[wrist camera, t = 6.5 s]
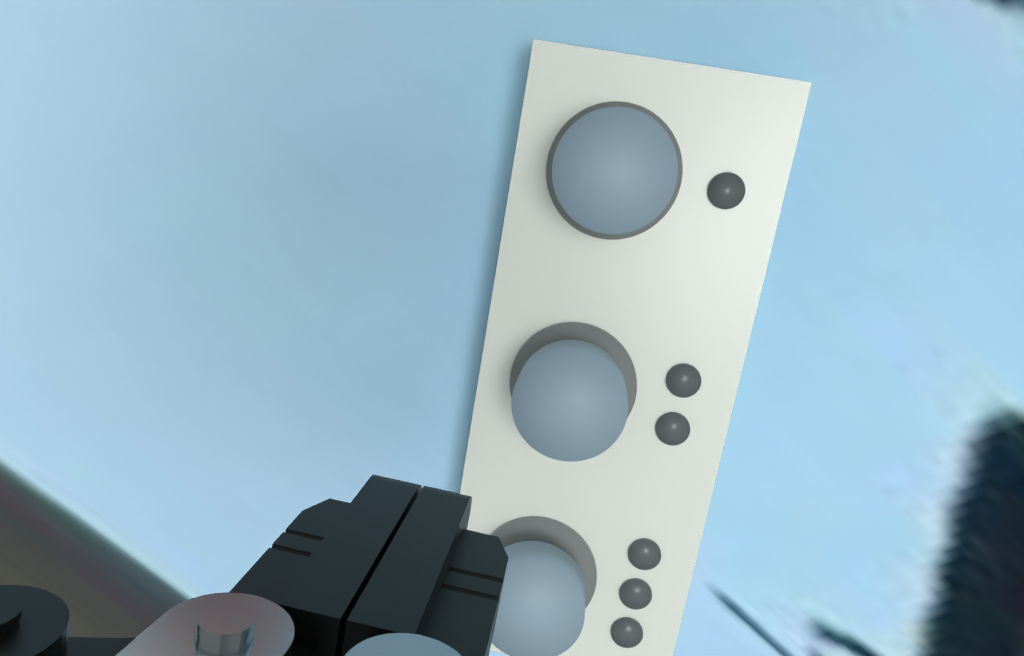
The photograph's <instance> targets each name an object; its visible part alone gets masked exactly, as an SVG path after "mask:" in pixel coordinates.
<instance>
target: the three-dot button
mask: <svg viewBox="0 0 1024 656" xmlns="http://www.w3.org/2000/svg"><path fill="white" fill-rule="evenodd" d="M504 549H505V551H506V554H507V556H508V563H507V568H506V573H505V578H504V583H503V588H502V593H501V598H500V603H499V607H498V612H497V617H496V622H495V627H494V632H493V637H492V642H491V643H492V644H493V645H494V646H495V647H496V648H498V649H499V650H501V651H502V652H504V653H506V654H508V655H510V656H558V655H560V654H562V653H563V652H565V651H566V650H568V649H569V648H570V647H571V646H572V645H573V644H574V643H575V642H576V640H577V639H578V637H579V636H580V633H581V631H582V628H583V625H584V619H585V601H586V585H585V580H584V577H583V574H582V572H581V570H580V568H579V566H578V565H577V563H576V562H575V561H574V560H573V558H572V557H570V556H569V555H568V554H567V553H566V552H564V551H563V550H562V549H560V548H558V547H556V546H554V545H551V544H549V543H545V542H540V541H522V542H517V543H514V544H511V545H509V546H507V547H505V548H504Z"/></svg>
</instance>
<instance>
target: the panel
mask: <svg viewBox="0 0 1024 656" xmlns="http://www.w3.org/2000/svg"><path fill="white" fill-rule="evenodd" d="M811 84H812V82H806V81H799V80H793V79H786V78H780V77H774V76H767V75H761V74H754V73H748V72H741V71H735V70H729V69H722V68H716V67H709V66H703V65H696V64H690V63H684V62H677V61H671V60H664V59H658V58H651V57H645V56H639V55H632V54H626V53H619V52H613V51H606V50H600V49H594V48H587V47H581V46H574V45H568V44H561V43H555V42H549V41H542V40H536V39H533V45H532V51H531V58H530V64H529V70H528V76H527V82H526V88H525V95H524V101H523V107H522V113H521V119H520V125H519V132H518V138H517V144H516V150H515V156H514V162H513V169H512V175H511V181H510V187H509V193H508V200H507V206H506V212H505V218H504V224H503V230H502V237H501V243H500V249H499V255H498V261H497V267H496V274H495V280H494V286H493V292H492V298H491V304H490V311H489V317H488V323H487V329H486V335H485V341H484V348H483V354H482V360H481V366H480V372H479V378H478V385H477V391H476V397H475V403H474V409H473V415H472V422H471V428H470V434H469V440H468V446H467V453H466V459H465V465H464V471H463V477H462V483H461V490H460V494H463V495H467V496H472V503H471V510H470V516H469V521H468V527H467V530H471V531H475V532H479V533H484V534H488V535H493V536H497V537H499V539H500V541H501V543H502V545H503V547H504V548H505V547H507V546H509V545H511V544H514V543H517V542H522V541H540V542H545V543H549V544H551V545H554V546H556V547H558V548H560V549H562V550H563V551H564V552H566V553H567V554H568V555H569V556H570V557H572V558H573V560H574V561H575V562H576V563H577V565H578V566H579V568H580V570H581V572H582V574H583V577H584V580H585V585H586V601H585V619H584V625H583V628H582V631H581V633H580V636H579V637H578V639H577V640H576V642H575V643H574V644H573V645H572V646H571V647H570V648H569V649H568V650H566V651H565V652H563V653H562V654H560V655H558V656H673V653H674V649H675V645H676V641H677V637H678V633H679V629H680V625H681V620H682V616H683V612H684V608H685V604H686V600H687V596H688V592H689V587H690V583H691V579H692V575H693V571H694V567H695V563H696V559H697V554H698V550H699V546H700V542H701V538H702V534H703V530H704V526H705V521H706V517H707V513H708V509H709V505H710V501H711V497H712V492H713V488H714V484H715V480H716V476H717V472H718V468H719V464H720V459H721V455H722V451H723V447H724V443H725V439H726V435H727V431H728V426H729V422H730V418H731V414H732V410H733V406H734V402H735V398H736V393H737V389H738V385H739V381H740V377H741V373H742V369H743V365H744V360H745V356H746V352H747V348H748V344H749V340H750V336H751V331H752V327H753V323H754V319H755V315H756V311H757V307H758V303H759V298H760V294H761V290H762V286H763V282H764V278H765V274H766V270H767V265H768V261H769V257H770V253H771V249H772V245H773V241H774V237H775V232H776V228H777V224H778V220H779V216H780V212H781V208H782V203H783V199H784V195H785V191H786V187H787V183H788V179H789V175H790V170H791V166H792V162H793V158H794V154H795V150H796V146H797V142H798V137H799V133H800V129H801V125H802V121H803V117H804V113H805V109H806V104H807V100H808V96H809V92H810V88H811ZM607 107H627V108H632V109H635V110H638V111H641V112H643V113H645V114H647V115H648V116H650V117H651V118H653V119H654V120H656V121H657V122H658V123H659V124H660V125H661V126H662V127H663V128H664V130H665V131H666V132H667V134H668V135H669V137H670V139H671V141H672V143H673V145H674V148H675V151H676V155H677V161H678V176H677V183H676V186H675V190H674V192H673V195H672V197H671V199H670V201H669V203H668V204H667V206H666V207H665V208H664V210H663V211H662V212H661V213H660V214H659V215H658V216H657V217H656V218H655V219H654V220H653V221H651V222H650V223H649V224H647V225H645V226H644V227H642V228H640V229H637V230H635V231H632V232H628V233H623V234H603V233H598V232H594V231H592V230H589V229H587V228H585V227H583V226H581V225H580V224H578V223H577V222H576V221H574V220H573V219H572V218H571V217H570V216H569V215H568V214H567V213H566V211H565V210H564V209H563V208H562V206H561V204H560V203H559V201H558V198H557V196H556V194H555V190H554V187H553V181H552V163H553V158H554V154H555V151H556V148H557V145H558V143H559V142H560V140H561V138H562V136H563V135H564V134H565V132H566V131H567V130H568V129H569V128H570V126H571V125H572V124H573V123H575V122H576V121H577V120H578V119H580V118H581V117H583V116H584V115H586V114H588V113H590V112H592V111H595V110H598V109H601V108H607ZM561 340H580V341H585V342H589V343H591V344H594V345H596V346H598V347H600V348H601V349H603V350H604V351H606V352H607V353H608V354H609V355H610V356H611V357H612V358H613V359H614V360H615V361H616V363H617V364H618V365H619V367H620V369H621V371H622V373H623V375H624V378H625V382H626V388H627V397H628V415H627V420H626V424H625V426H624V429H623V431H622V433H621V434H620V436H619V438H618V439H617V440H616V441H615V443H614V444H613V445H612V446H611V447H610V448H609V449H607V450H606V451H604V452H603V453H601V454H599V455H598V456H596V457H593V458H590V459H587V460H583V461H576V462H566V461H559V460H555V459H551V458H549V457H547V456H544V455H542V454H541V453H539V452H537V451H536V450H535V449H533V448H532V447H531V446H530V445H529V444H528V443H527V442H526V441H525V440H524V439H523V438H522V436H521V435H520V433H519V431H518V429H517V427H516V425H515V422H514V419H513V415H512V407H511V401H512V394H513V390H514V387H515V384H516V382H517V379H518V377H519V375H520V372H521V370H522V368H523V366H524V365H525V363H526V362H527V360H528V359H529V358H530V357H531V356H532V355H533V354H534V353H535V352H536V351H538V350H539V349H540V348H542V347H544V346H546V345H548V344H550V343H553V342H557V341H561ZM490 650H491V651H495V652H499V653H504V652H502V651H501V650H499V649H498V648H496V647H495V646H494V645H493V644H492V643H491V647H490ZM504 654H506V653H504Z"/></svg>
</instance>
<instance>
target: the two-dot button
mask: <svg viewBox="0 0 1024 656" xmlns="http://www.w3.org/2000/svg"><path fill="white" fill-rule="evenodd" d="M511 407H512V415H513V419H514V422H515V425H516V427H517V429H518V431H519V433H520V435H521V436H522V438H523V439H524V440H525V441H526V442H527V443H528V444H529V445H530V446H531V447H532V448H533V449H535V450H536V451H537V452H539V453H541V454H542V455H544V456H547V457H549V458H551V459H555V460H559V461H566V462H576V461H583V460H587V459H590V458H593V457H596V456H598V455H599V454H601V453H603V452H604V451H606V450H607V449H609V448H610V447H611V446H612V445H613V444H614V443H615V441H616V440H617V439H618V438H619V436H620V434H621V433H622V431H623V429H624V426H625V424H626V420H627V415H628V397H627V388H626V382H625V378H624V375H623V373H622V371H621V369H620V367H619V365H618V364H617V363H616V361H615V360H614V359H613V358H612V357H611V356H610V355H609V354H608V353H607V352H606V351H604V350H603V349H601V348H600V347H598V346H596V345H594V344H591V343H589V342H585V341H580V340H561V341H557V342H553V343H550V344H548V345H546V346H544V347H542V348H540V349H539V350H538V351H536V352H535V353H534V354H533V355H532V356H531V357H530V358H529V359H528V360H527V362H526V363H525V365H524V366H523V368H522V370H521V372H520V375H519V377H518V379H517V382H516V384H515V387H514V390H513V394H512V401H511Z"/></svg>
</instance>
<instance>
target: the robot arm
mask: <svg viewBox="0 0 1024 656" xmlns="http://www.w3.org/2000/svg"><path fill="white" fill-rule="evenodd" d="M471 503H472V496H467V495H463V494H459V493H454V492H450V491H445V490H441V489H436V488H432V487H427V486H424V487H423V488H422V487H421V485H418V484H413V483H409V482H404V481H400V480H395V479H391V478H386V477H382V476H378V475H372V476H371V477H370V479H369V480H368V481H367V482H366V484H365V485H364V486H363V488H362V489H361V490H360V492H359V493H358V494H357V495H356V497H355V498H354V499H353V501H352V502H351V503H347V502H343V501H338V500H334V499H328V500H326V501H323V502H321V503H319V504H317V505H314V506H312V507H310V508H308V509H305V510H303V511H302V512H301V513H300V514H299V515H298V516H297V517H296V519H295V520H294V521H293V522H292V523H291V524H290V525H289V526H288V527H287V529H286V532H285V533H284V532H283V533H282V534H281V535H280V536H279V537H278V539H277V540H276V541H275V542H274V543H273V545H272V548H269V549H268V550H267V551H266V552H265V553H264V554H263V555H262V556H261V558H260V559H259V560H258V561H257V562H256V563H255V564H254V565H253V566H252V568H251V569H250V570H249V571H248V572H247V573H246V574H245V575H244V576H243V578H242V579H241V580H240V581H239V582H238V583H237V584H236V585H235V587H234V588H233V589H232V590H231V591H230V592H229V593H214V594H209V595H203V596H199V597H196V598H192V599H190V600H187V601H185V602H182V603H180V604H178V605H176V606H175V607H173V608H171V609H170V610H169V611H167V612H166V613H165V614H163V615H162V616H161V617H160V618H159V619H158V620H156V621H155V622H154V623H153V624H152V625H151V626H149V627H148V628H147V629H146V630H145V631H144V632H142V633H141V634H140V635H139V636H138V637H137V638H86V637H68V631H69V610H68V607H67V605H66V604H65V603H64V601H63V600H62V599H61V598H59V597H58V596H56V595H55V594H53V593H51V592H49V591H46V590H43V589H39V588H36V587H29V586H21V585H0V656H489V652H490V647H491V642H492V637H493V632H494V627H495V622H496V617H497V612H498V607H499V603H500V598H501V593H502V588H503V583H504V578H505V573H506V568H507V563H508V556H507V554H506V551H505V549H504V547H503V545H502V543H501V541H500V539H499V537H497V536H493V535H488V534H484V533H479V532H475V531H471V530H467V527H468V521H469V516H470V510H471Z"/></svg>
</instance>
